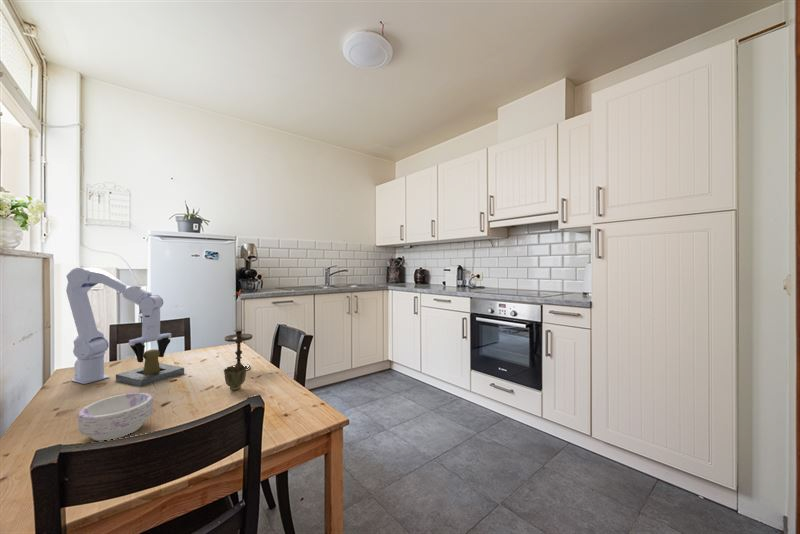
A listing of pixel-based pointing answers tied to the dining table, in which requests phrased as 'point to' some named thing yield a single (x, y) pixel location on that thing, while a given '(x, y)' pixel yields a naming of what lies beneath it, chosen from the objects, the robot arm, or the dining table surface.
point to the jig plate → (141, 380)
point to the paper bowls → (115, 416)
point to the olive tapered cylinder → (151, 362)
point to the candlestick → (238, 333)
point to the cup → (235, 376)
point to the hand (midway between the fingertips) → (150, 359)
